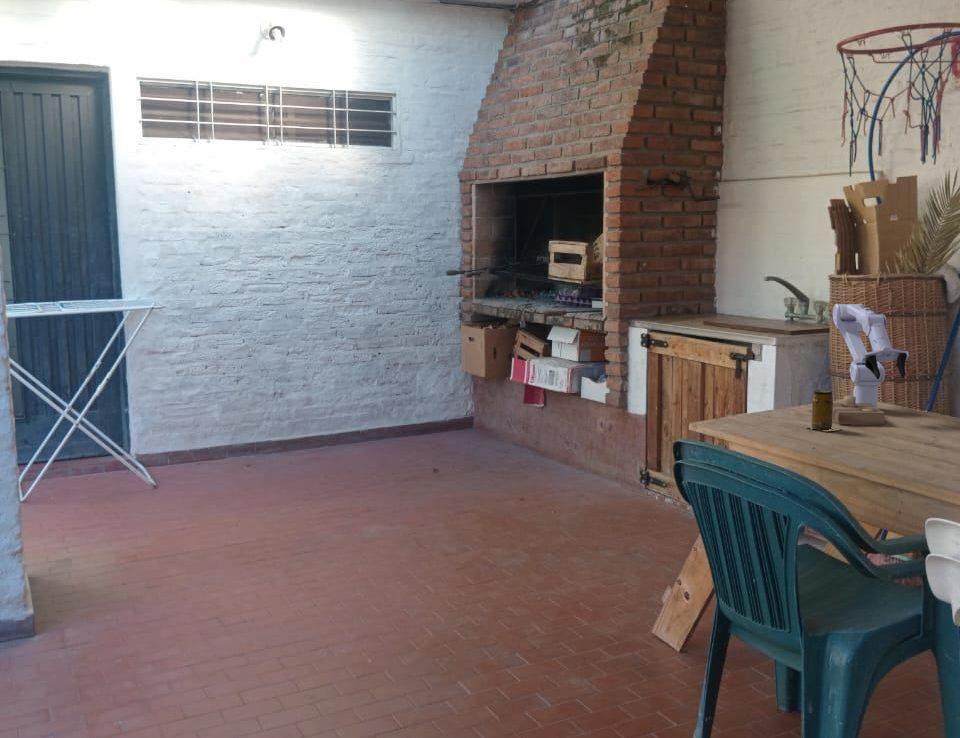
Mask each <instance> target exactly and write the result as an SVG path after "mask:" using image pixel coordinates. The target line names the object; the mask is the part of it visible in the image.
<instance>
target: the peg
mask: <svg viewBox="0 0 960 738" xmlns="http://www.w3.org/2000/svg"><path fill="white" fill-rule="evenodd" d="M843 403H844V407H855V405H856V397H854V396H853V395H845V396H843Z"/></svg>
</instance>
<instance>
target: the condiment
mask: <svg viewBox="0 0 960 738" xmlns="http://www.w3.org/2000/svg"><path fill="white" fill-rule="evenodd" d="M811 403H812V406H811V407H812V409H811V427H812V428H813V429H819V430H818V431H821V430H829V429H832V428H833V420H832V413H833V403H834V400H833V392H832V391H831V390H827V389H817V390H816V389H815V390H814V392H813V399H812V402H811ZM831 427H832V428H831ZM832 430H833V429H832ZM821 432H822V431H821ZM826 432H827V433H829V432H828V431H826Z"/></svg>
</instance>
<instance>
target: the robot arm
mask: <svg viewBox="0 0 960 738" xmlns="http://www.w3.org/2000/svg"><path fill="white" fill-rule="evenodd" d="M886 317H887V316H886V315H885V314H884V313H881V314H876V313H875V311H872V310H871V308H869V307H865V306H864V304H862V303H844V304H843V303H835V304H834V306H833V307H832V319H833V320H832V321H833V323H834V325H835V327H836V329H837V330H838V331H840V332H841V334H842V336H843V337H842V338H843V339H844V341H845V344H846V346H847V348H848V350H849V353H850V355H851V357H852V360H853V361H851V363H850V365H849V374H850V380H851V381H852V383H853V384H855V386H854V388H853V394H852V396H854V397H856V403H871V404H872V405H874V406H875V407H877V408H878V405H879V404H878V401H879V386H881V384H882V383H883V382H884V380H885V378H886V377H885V376H886V371H885V368H884V366H883V365H882V364H881V363H885V362H888V361H889V362H890V361H893V360H896V364H895V365H896V368H897V369H898V371H899V375H900V377H901V378H903V379H904V378H905V376H906V361H907V360H909V357H910V354H909V351H908V350H900V349H894V348H893V347H892V345H891V342H890V341H891V340H890V339H889V335H888V332H887V318H886ZM861 330H862V331H863V332H864V333H865V335H866V336H867V337H868V340H869V342H870V346H871V350H872V351H870V352H868V351H867V349H866V347H865V344H864V342H863V340H862V338H861V336H860V334H859V331H861Z"/></svg>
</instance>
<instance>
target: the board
mask: <svg viewBox="0 0 960 738" xmlns="http://www.w3.org/2000/svg"><path fill="white" fill-rule="evenodd" d="M885 413H886V412H884V411H883V410H882V409H880V408H878V406H877V407H875V406H874V405H872V404H871V403H856V405H855V407H844V402H833V413H832V419H833V420H835V421H836V422H837V423H838V424H851V425H850V426H885V415H886V414H885ZM833 420H832V421H833ZM836 422H835V423H836ZM837 423H836V424H837ZM838 424H837V425H838Z"/></svg>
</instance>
